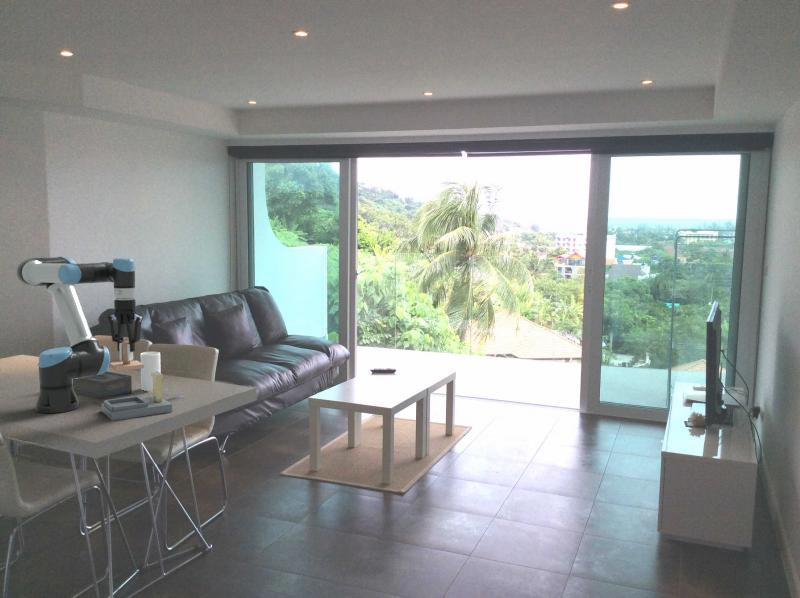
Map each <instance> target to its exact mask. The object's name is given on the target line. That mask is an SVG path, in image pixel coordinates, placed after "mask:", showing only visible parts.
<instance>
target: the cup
mask: <svg viewBox="0 0 800 598" xmlns="http://www.w3.org/2000/svg"><path fill="white" fill-rule="evenodd" d="M140 363H142V364H144V368H143V369H140V387H141V389H140V390H141V391H143V390H144V392H148V390H152V389H153V378H152V376H151V372H155V371H158V372H160V373H161V371H162V369H161V352H160V351H159V352H158V351H145V352H141V353H140ZM161 374H162V373H161Z"/></svg>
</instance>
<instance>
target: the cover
mask: <svg viewBox="0 0 800 598" xmlns="http://www.w3.org/2000/svg"><path fill="white" fill-rule="evenodd" d="M123 341H124V342H122V346H123V360H122V361H117V362H116V361H115V362H110V363H109V368H111V369H112V370H114V371H115V372H122V371H124V372H125V371H131V370H133V371H134V370H141V369H143V368H144V364H142V363H141V361H139V360H137V359H136V360H131V361H128V354H127V344H128V343H129V340H128V341H127V340H123Z"/></svg>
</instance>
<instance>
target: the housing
mask: <svg viewBox="0 0 800 598" xmlns="http://www.w3.org/2000/svg"><path fill="white" fill-rule="evenodd" d="M101 412H102V413H103V414H104V415H105V416H106V415H107V417H108V418H109V419H110V420H111V421H112V422H113V421H121V420H126V419H133V418H139V417H146V416H153V415H160V414H166V413H172V412H173V404H172V403H171V402H169V401H168V400H166V399H164V398H163V397H162V401H160V402H155V401H154V400H153V396H149V397H141V396H138V395H135V396H128V397H119V398H113V399H105V400H103V403H101Z"/></svg>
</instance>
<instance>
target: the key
mask: <svg viewBox="0 0 800 598" xmlns="http://www.w3.org/2000/svg"><path fill="white" fill-rule="evenodd" d="M151 376H152V378H153V389H152V390H148V391H147V393H148V394H149V395H152V397H153V400H154V401H155V402H160V401H162V398H163V379H164V374H163V373H160V372H158V371H155V372H151Z"/></svg>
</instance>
